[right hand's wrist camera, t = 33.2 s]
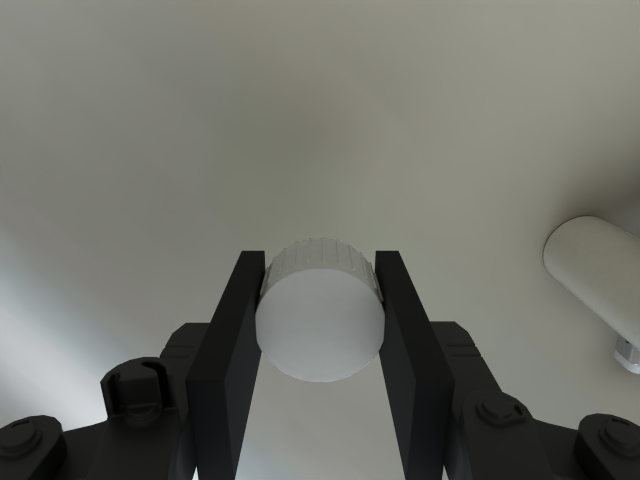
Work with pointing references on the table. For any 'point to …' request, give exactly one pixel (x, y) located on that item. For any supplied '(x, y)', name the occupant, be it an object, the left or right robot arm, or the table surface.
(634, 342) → the bottle
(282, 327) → the cap
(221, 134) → the table surface
